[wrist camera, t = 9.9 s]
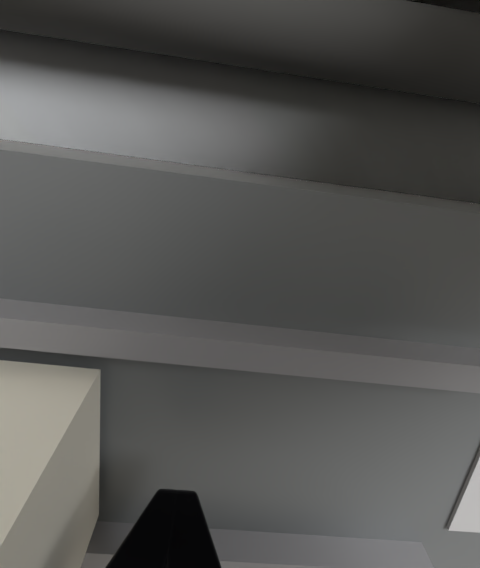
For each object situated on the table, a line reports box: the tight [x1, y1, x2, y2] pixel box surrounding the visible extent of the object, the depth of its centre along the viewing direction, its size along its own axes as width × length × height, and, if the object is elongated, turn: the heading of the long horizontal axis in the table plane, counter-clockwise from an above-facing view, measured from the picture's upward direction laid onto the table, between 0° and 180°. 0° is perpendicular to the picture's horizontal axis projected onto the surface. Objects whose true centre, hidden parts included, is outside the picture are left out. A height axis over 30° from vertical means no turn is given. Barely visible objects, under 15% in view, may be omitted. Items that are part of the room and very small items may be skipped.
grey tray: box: [0, 139, 480, 568], centre depth 10 cm, size 18×12×4 cm, turn 83°
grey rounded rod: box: [0, 0, 480, 104], centre depth 8 cm, size 16×2×2 cm, turn 83°
